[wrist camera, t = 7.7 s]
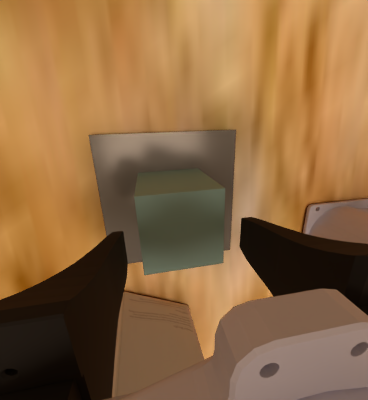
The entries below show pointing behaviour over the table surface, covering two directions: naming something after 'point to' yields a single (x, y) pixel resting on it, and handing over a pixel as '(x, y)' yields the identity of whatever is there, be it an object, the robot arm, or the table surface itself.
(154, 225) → the green block
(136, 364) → the skincare box
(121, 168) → the grey square plate
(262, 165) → the table surface
